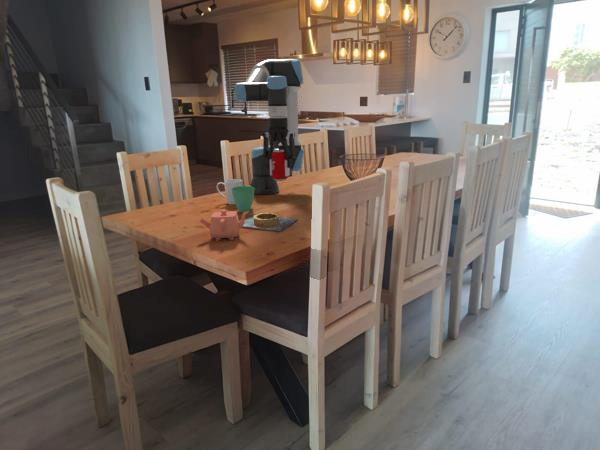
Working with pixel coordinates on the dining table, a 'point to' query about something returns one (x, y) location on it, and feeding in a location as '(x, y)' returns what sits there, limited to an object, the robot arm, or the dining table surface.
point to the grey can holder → (268, 222)
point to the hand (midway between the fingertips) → (279, 175)
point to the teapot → (224, 224)
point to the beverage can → (278, 165)
